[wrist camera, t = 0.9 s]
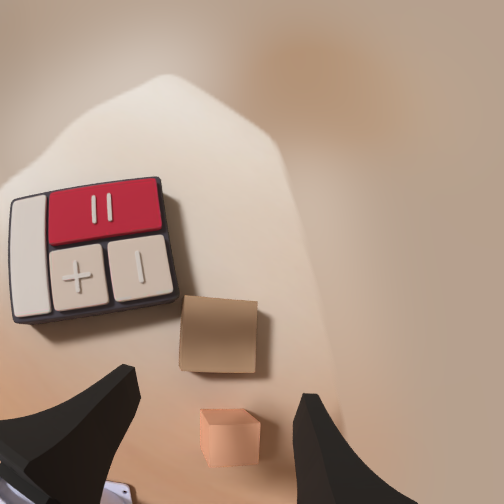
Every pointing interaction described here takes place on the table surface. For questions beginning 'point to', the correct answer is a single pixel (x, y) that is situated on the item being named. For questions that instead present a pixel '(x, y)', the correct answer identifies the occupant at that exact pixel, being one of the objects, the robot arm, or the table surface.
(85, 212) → the calculator
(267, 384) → the table surface
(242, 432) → the terracotta block
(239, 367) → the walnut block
